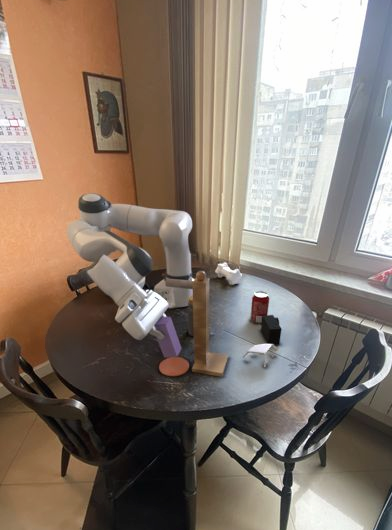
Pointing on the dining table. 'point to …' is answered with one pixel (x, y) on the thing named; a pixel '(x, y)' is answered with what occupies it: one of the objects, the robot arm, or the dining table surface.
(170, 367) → the coaster
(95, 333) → the dining table surface
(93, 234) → the robot arm
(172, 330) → the purple block
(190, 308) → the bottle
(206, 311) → the cup stand
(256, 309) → the soda can
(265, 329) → the digital camera
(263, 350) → the white small piece
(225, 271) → the bone shaped toy
